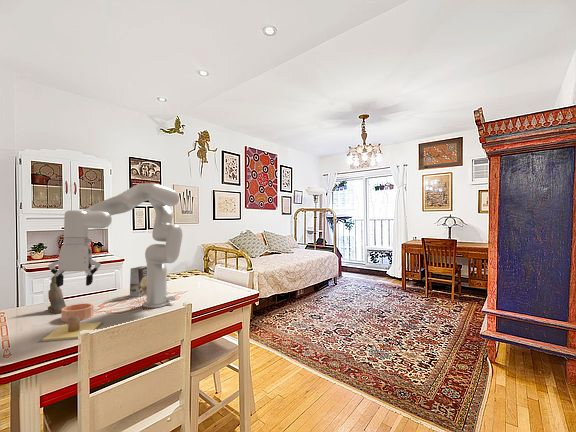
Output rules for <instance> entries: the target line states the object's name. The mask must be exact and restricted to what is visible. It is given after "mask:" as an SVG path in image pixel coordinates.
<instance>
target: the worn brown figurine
mask: <svg viewBox="0 0 576 432" xmlns="http://www.w3.org/2000/svg"><path fill="white" fill-rule="evenodd" d="M50 279H51V280H50V281H51V282H50V284H49V290H48V292H47V294H48V295H47V296H48V300H49V302H50V303H49V304H50V305H49V306H47V309H48V310H49V311H48V310H47V311H48V312H51V313H52V314H54V315H55V314H56V315H59V314H60V315H61V309H62V308H64V307H66V306H67V305H66V302H65V299H64V296H63V295H64V294H63V291H62V289H61V288H60V287H61V286H60V287H57V284H56V276H55V275H53V276H52V277H51V278H50Z"/></svg>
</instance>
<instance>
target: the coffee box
mask: <svg viewBox="0 0 576 432" xmlns="http://www.w3.org/2000/svg"><path fill="white" fill-rule="evenodd" d="M129 272H130V274H129V275H130V277H129V278H130V279H129V297H135V298H139V297H143V296H145V295H147V265H145V266H136V267H132V268H130V271H129Z"/></svg>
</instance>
